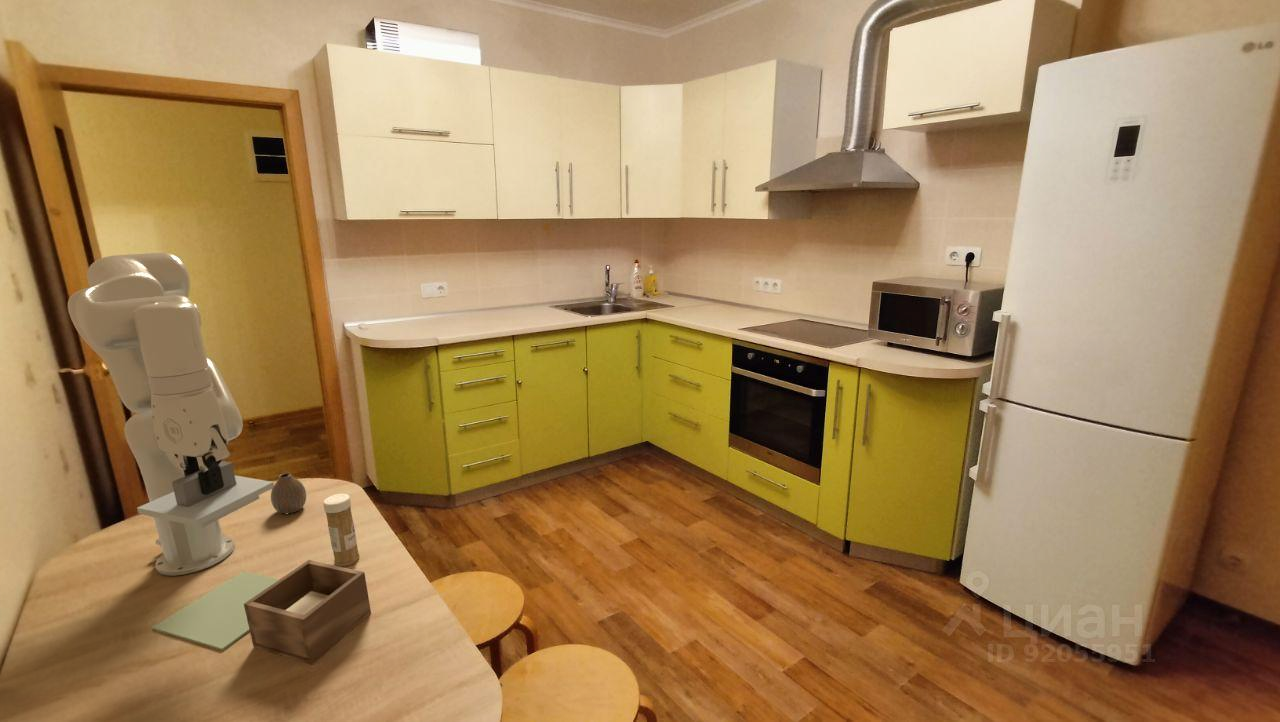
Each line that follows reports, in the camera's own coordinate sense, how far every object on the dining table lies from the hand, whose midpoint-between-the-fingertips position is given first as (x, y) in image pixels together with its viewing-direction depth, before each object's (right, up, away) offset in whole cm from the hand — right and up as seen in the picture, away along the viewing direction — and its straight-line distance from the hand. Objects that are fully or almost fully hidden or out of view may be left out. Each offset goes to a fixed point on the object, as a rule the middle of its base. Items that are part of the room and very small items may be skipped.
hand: (206, 488), depth 95 cm
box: (+17, -23, 0) cm, 29 cm away
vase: (-9, -14, +39) cm, 42 cm away
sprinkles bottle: (+13, -18, +19) cm, 30 cm away
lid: (0, -3, +1) cm, 4 cm away
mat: (0, -22, +6) cm, 23 cm away
